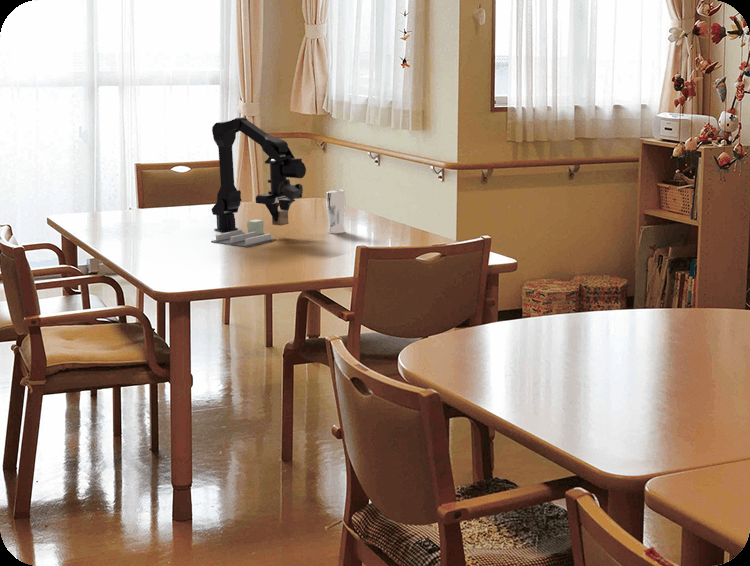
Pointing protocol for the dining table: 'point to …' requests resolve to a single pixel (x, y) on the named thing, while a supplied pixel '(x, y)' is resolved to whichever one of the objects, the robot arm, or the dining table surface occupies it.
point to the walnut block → (281, 217)
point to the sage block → (255, 226)
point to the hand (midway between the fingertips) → (280, 220)
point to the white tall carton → (335, 210)
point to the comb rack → (242, 238)
